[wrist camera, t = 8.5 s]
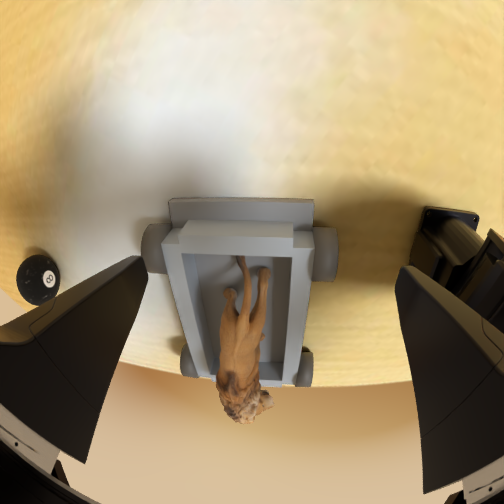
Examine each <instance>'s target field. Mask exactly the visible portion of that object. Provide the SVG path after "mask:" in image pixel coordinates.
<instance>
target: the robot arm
mask: <svg viewBox="0 0 504 504" xmlns="http://www.w3.org/2000/svg"><path fill="white" fill-rule="evenodd" d="M429 211H430V213H429V214H428V215H427V213H428V212H429ZM474 218H475V219H474ZM478 222H479V216H478V215H477V214H476V213H473V212H466V211H459V210H452V209H444V208H436V207H425V208H424V209H423V212H422V216H421V221H420V225H419V229H418V231H417V232H416V236H415V240H414V244H413V247H412V251H411V254H410V261H409V265H408V266H402V267H401V269H400V271H399V275H398V278H397V281H396V284H395V296H396V301H397V307H398V313H399V319H400V326H401V331H402V335H403V339H404V343H405V347H406V352H407V356H408V361H409V365H410V370H411V375H412V381H413V386H414V392H415V397H416V404H417V411H418V419H419V427H420V437H421V451H422V466H423V494H426V493H429V492H432V491H435V490H438V489H441V488H444V487H446V486H449V485H451V484H454V483H456V482H459V481H461V480H462V482H463V490H461V491H459V492H457V493H454V494H452V495H450V496H449V497H448V499H447V500H446V502H445V503H444V504H504V238H503V237H502V236H500V235H499V234H498V233H496V232H495V231H494V230H493V229H491V228H490V230H489V232H488V234H487V235H488V236H487V238H486V240H485V241H484V240H483V239H482V238H481V237H480V236H479V235H478V234H477V233H476V229H477V226H478ZM147 282H148V272H147V269H146V265H145V262H144V259H143V257H142V256H130V257H128V258H126V259H124V260H122V261H120V262H118V263H116V264H114V265H112V266H110V267H109V268H107V269H105V270H103V271H101V272H99V273H97V274H95V275H94V276H92V277H90V278H88V279H86V280H84V281H83V282H81V283H79V284H77V285H75V286H74V287H72V288H70V289H68V290H66V291H65V292H63V293H61V294H59V295H58V296H56V297H54V298H52V299H51V300H49V301H47V302H45V303H44V304H42V305H40V306H38V307H36V308H35V309H33V310H31V311H29V312H27V313H25V314H23V315H21V316H20V317H18V318H16V319H14V320H12V321H10V322H9V323H6V324H4V325H2V326H0V504H100V503H98V502H96V501H94V500H92V499H90V498H89V497H87V496H85V495H83V494H81V493H79V492H78V491H76V490H74V489H72V488H71V487H70V486H69V483H68V481H67V478H66V476H65V473H64V470H63V467H62V465H61V462H60V461H59V460H57V457H58V455H59V452H60V451H62V452H64V453H65V454H67V455H69V456H70V457H72V458H74V459H76V460H78V461H80V462H82V463H83V464H85V463H86V460H87V456H88V452H89V449H90V445H91V442H92V438H93V435H94V431H95V428H96V425H97V421H98V418H99V415H100V412H101V409H102V405H103V403H104V400H105V397H106V394H107V391H108V388H109V385H110V382H111V379H112V377H113V374H114V371H115V369H116V366H117V363H118V361H119V358H120V355H121V353H122V350H123V348H124V345H125V343H126V340H127V338H128V335H129V333H130V331H131V328H132V326H133V323H134V321H135V319H136V316H137V313H138V310H139V307H140V304H141V301H142V298H143V295H144V292H145V288H146V285H147Z"/></svg>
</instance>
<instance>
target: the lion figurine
mask: <svg viewBox="0 0 504 504" xmlns="http://www.w3.org/2000/svg"><path fill="white" fill-rule="evenodd" d="M235 256H236V259H237V264H238V266H239V267H240V269H241V271H242V273H243V277H244V297H243V303H242V307H241V312H240V314H239V312H238V311H237V308H236V305H235V301H236V299H237V292H236V290H234V289H233V288H226V289H225V290H224V292H223V295H224V297H225V298H226V299H227V303H226V306H225V308H224V311H223V314H222V317H221V326H220V345H221V352H220V357H219V359H220V368H219V370H218V372H217V375H216V388H217V389H218V391H219V397H220V400H221V403H222V405H223V406H224V411H225V412H226V413H227V415H228V416H229V417H230V418H232V419H233V420H234V421H235V422H239V423H241V424H248V423H253V422H254V419H255V416H256V415H259V414H260V413H261V412H262V411H264V410H266V409H269V408H272V407H273V406H274V403H273V399H272V397H271V396H270V395H269V392H268V391H267V390H260V388H261V384H260V382H259V379H260V376H259V369H258V367H259V360H260V341H263V339H264V338H265V335H264V334H263V333H262V328H263V327H264V324H265V318H266V297H267V288H268V279H269V278H270V277H271V271H270V269H268V268H260V269H259V270H258V272H257V277H258V282H257V291H258V294H257V300H256V303H255V305H254V307H253V309H252V311H251V312H250V306H251V293H252V283H251V278H250V274H249V270H248V268H247V265H246V261H245V256H244V255H235Z"/></svg>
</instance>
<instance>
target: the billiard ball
mask: <svg viewBox="0 0 504 504" xmlns="http://www.w3.org/2000/svg"><path fill="white" fill-rule="evenodd" d="M16 281H17V287H18V290H19V292H20V294H21V295H22V297H23V298H24V299H25V300H26V301H27V302H29V303H31V304H33V305H36V306H40V305H42V304H44V303H45V302H47V301H49V300H51V299H52V298H54V297H55V296H56V294H57V292H58V290H59V286H60V277H59V273H58V270H57V268H56V266H55V265H54V263H53V262H52V261H51V260H50V259H48V258H47V257H45V256H42V255H33V256H30V257H29V258H27V259H26V260H24V261H23V262H22V264H21V265H20V267H19V269H18V271H17V276H16Z"/></svg>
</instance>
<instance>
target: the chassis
mask: <svg viewBox="0 0 504 504" xmlns="http://www.w3.org/2000/svg"><path fill="white" fill-rule="evenodd" d="M168 203H169V209H170V215H171V221H172V224H150V225H149V226H148V227H147V228H146V230H145V232H144V234H143V237H142V242H141V256H142V257H143V259H144V262H145V265H146V269H147V271H148V272H149V273H158V274H168V276H169V280H170V284H171V288H172V291H173V295H174V299H175V303H176V306H177V310H178V313H179V317H180V320H181V324H182V327H183V330H184V334H185V337H186V340H187V343H186V344H185V345H184V347H183V349H182V352H181V357H180V370H181V373H182V375H183V376H187V377H193V378H199V377H208V378H211V380H212V381H214V382H216V375H217V372H218V370H219V368H220V359H219V357H220V352H221V345H220V326H221V317H222V314H223V311H224V308H225V306H226V303H227V299H226V298H225V297H224V295H223V292H224V290H225V289H226V288H233V289H234V290H236V292H237V299H236V301H235V305H236V308H237V311H238V312H239V314H240V312H241V307H242V303H243V297H244V277H243V273H242V271H241V269H240V267H239V266H238V264H237V259H236V256H235V255H244V256H245V261H246V265H247V268H248V270H249V274H250V278H251V283H252V293H251V306H250V312H251V311H252V309H253V307H254V305H255V303H256V300H257V294H258V291H257V282H258V277H257V272H258V270H259V269H260V268H268V269H270V271H271V277H270V278H269V279H268V288H267V297H266V318H265V324H264V327H263V328H262V333H263V334H264V335H265V338H264V339H263V341H260V360H259V367H258V369H259V376H260V379H259V382H260V384H261V386H267V387H282V384H293V385H295V387H310V386H311V383H312V378H313V353H312V352H301V350H302V344H303V338H304V331H305V324H306V318H307V311H308V303H309V296H310V288H311V281H320V282H333V281H334V280H335V277H336V273H337V267H338V253H339V248H338V235H337V231H336V229H335V228H329V227H313V215H314V200H311V199H283V198H178V199H171V200H170V201H169V202H168Z"/></svg>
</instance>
